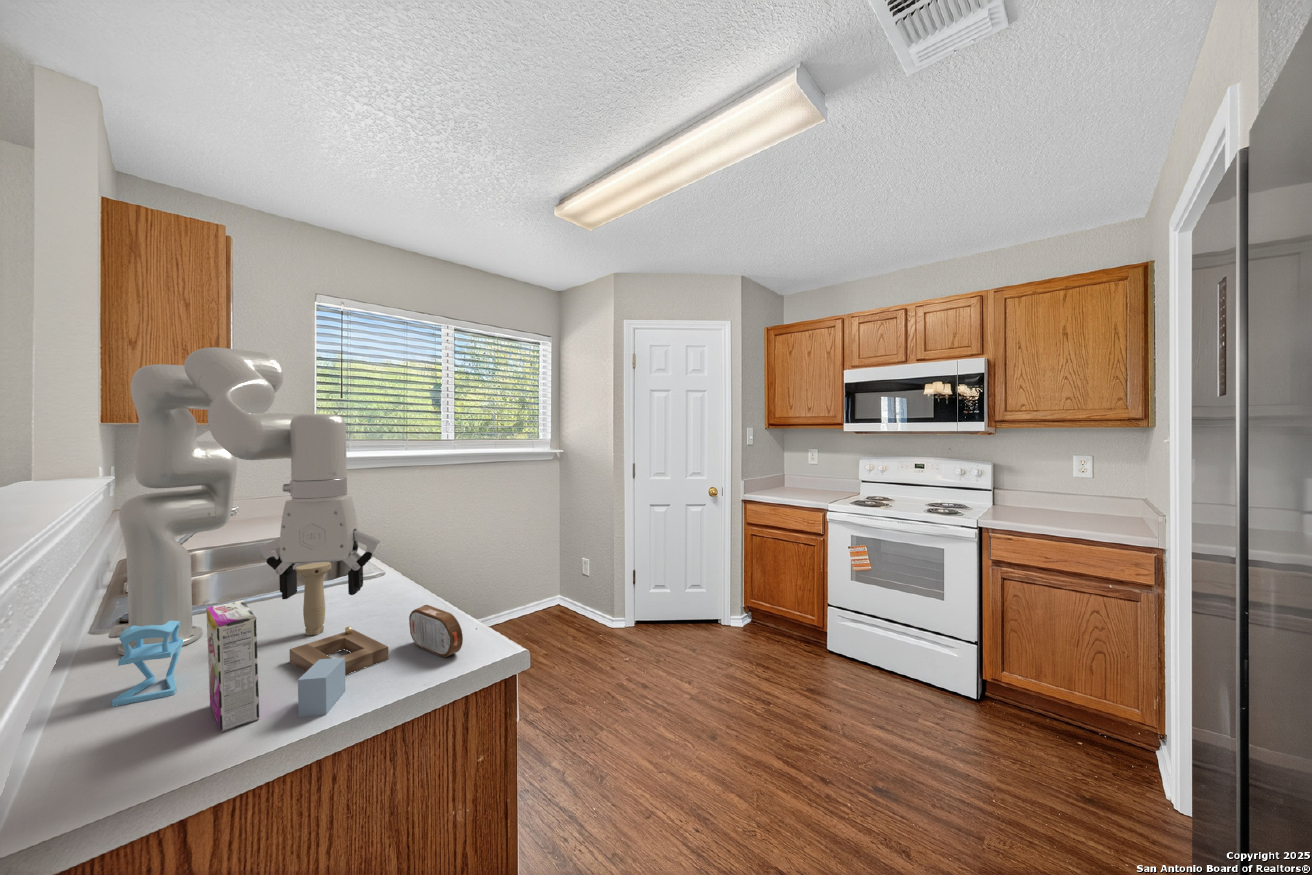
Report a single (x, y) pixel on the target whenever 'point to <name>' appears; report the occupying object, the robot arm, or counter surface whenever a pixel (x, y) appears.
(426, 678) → the counter surface
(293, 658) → the socket block
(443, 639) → the tin
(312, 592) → the handle
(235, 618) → the candy bar box
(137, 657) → the chair
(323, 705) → the blue peg
